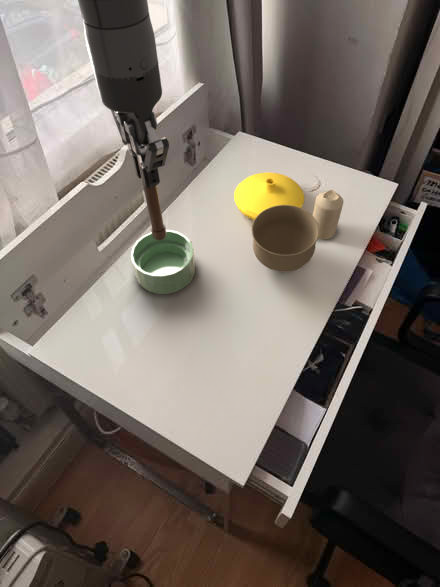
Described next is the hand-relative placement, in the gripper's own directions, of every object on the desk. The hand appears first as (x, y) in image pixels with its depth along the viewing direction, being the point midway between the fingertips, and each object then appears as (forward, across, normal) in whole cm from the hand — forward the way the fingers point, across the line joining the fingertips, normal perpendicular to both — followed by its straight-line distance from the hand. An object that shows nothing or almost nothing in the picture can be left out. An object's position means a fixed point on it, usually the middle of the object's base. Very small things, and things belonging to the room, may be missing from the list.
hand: (148, 179), depth 63 cm
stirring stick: (+12, 0, 0) cm, 12 cm away
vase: (+28, -9, +31) cm, 42 cm away
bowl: (+28, +6, +23) cm, 36 cm away
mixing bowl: (+27, -5, +2) cm, 28 cm away
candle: (+28, +4, +36) cm, 45 cm away
